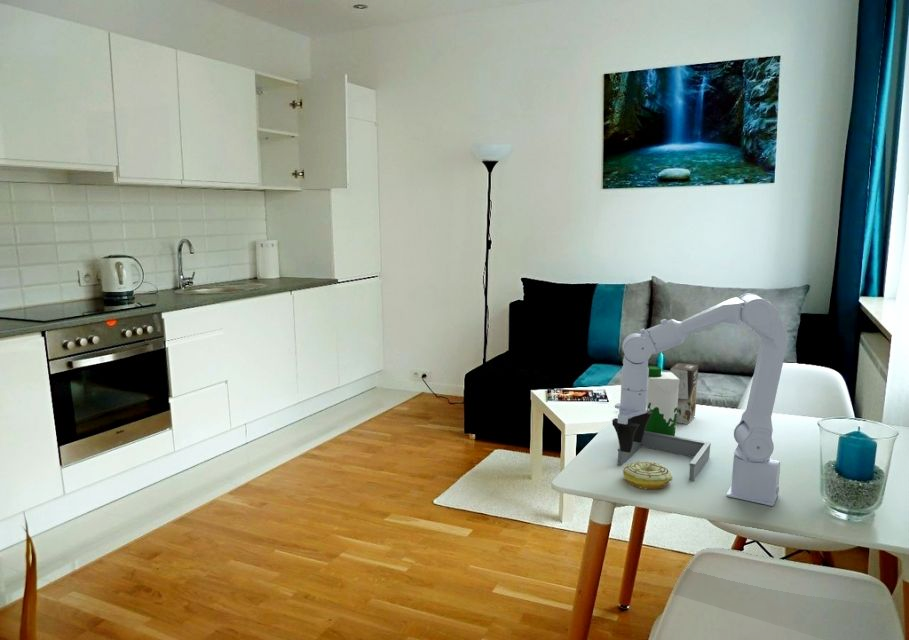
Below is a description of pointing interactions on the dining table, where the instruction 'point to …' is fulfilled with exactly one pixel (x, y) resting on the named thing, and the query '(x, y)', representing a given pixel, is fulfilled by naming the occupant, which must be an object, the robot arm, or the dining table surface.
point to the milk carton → (662, 401)
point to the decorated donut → (647, 475)
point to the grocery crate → (672, 449)
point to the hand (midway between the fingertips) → (631, 446)
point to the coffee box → (686, 391)
